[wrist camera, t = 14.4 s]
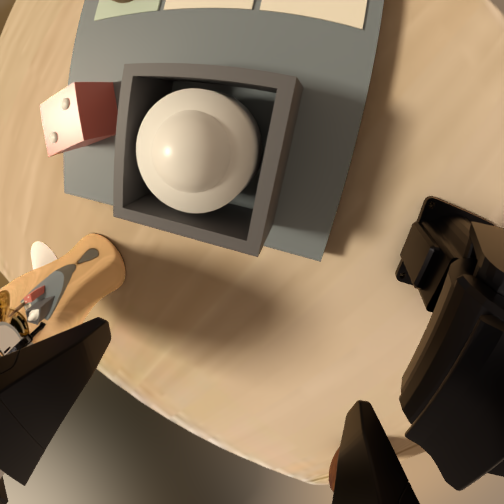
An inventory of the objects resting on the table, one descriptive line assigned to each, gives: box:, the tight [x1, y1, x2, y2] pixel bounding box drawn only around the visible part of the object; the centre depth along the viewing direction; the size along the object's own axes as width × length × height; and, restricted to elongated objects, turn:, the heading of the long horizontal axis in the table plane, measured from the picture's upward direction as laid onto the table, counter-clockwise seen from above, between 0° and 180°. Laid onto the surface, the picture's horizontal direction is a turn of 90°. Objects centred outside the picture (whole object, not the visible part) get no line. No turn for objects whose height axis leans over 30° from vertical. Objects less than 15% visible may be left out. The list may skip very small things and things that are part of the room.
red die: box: [40, 82, 118, 157], centre depth 16 cm, size 4×4×4 cm
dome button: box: [136, 88, 262, 213], centre depth 14 cm, size 6×6×4 cm
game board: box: [64, 0, 384, 262], centre depth 14 cm, size 22×22×6 cm
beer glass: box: [0, 234, 125, 357], centre depth 19 cm, size 7×7×15 cm
